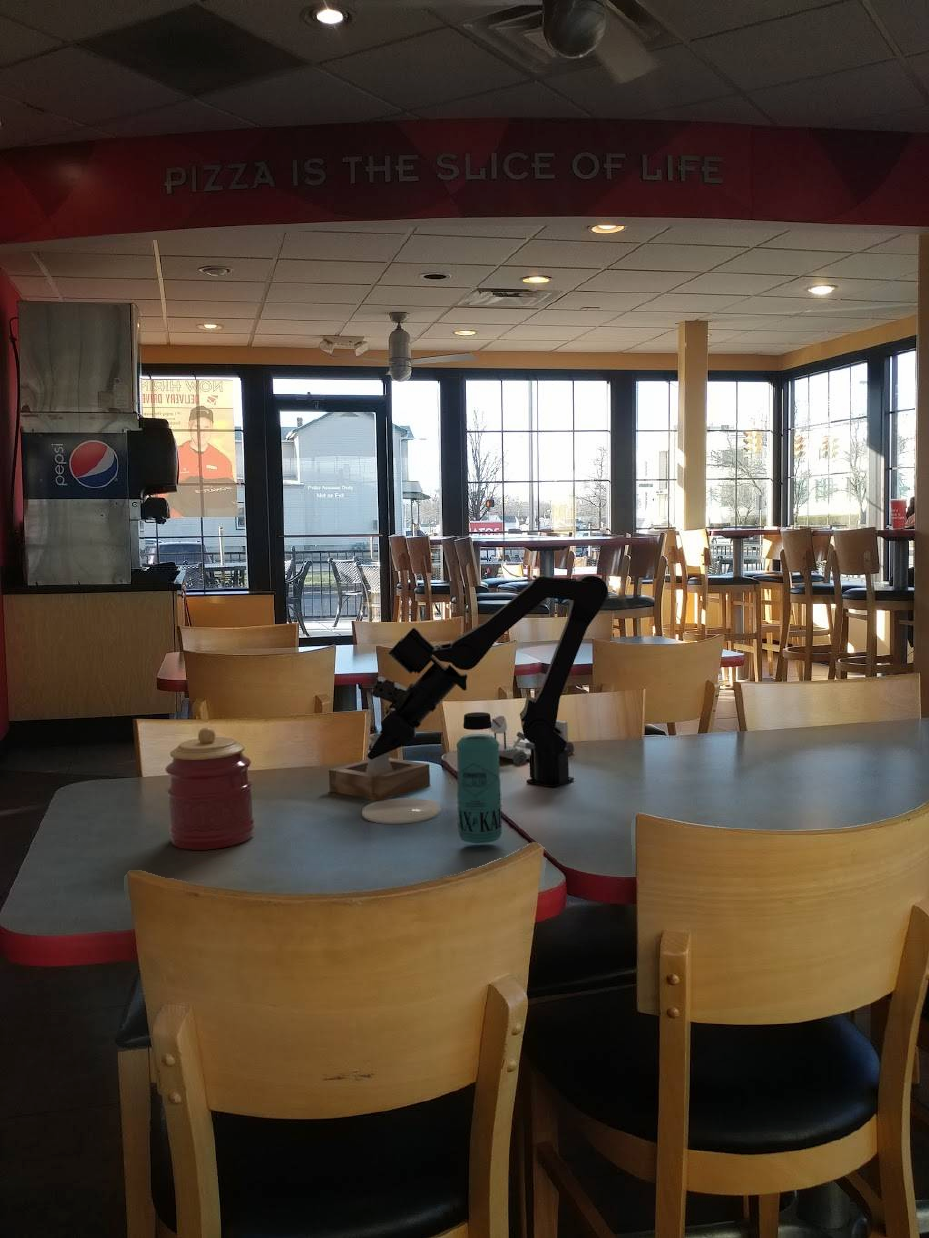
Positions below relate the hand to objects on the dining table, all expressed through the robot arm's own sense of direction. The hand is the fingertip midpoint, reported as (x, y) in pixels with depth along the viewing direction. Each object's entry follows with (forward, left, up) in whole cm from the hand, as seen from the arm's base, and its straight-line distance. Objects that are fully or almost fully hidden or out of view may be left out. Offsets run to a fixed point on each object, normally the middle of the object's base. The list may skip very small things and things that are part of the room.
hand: (371, 753), depth 190 cm
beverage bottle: (-39, +16, -7) cm, 43 cm away
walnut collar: (-1, -1, -7) cm, 7 cm away
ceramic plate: (-16, +9, -7) cm, 20 cm away
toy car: (-7, -36, -7) cm, 38 cm away
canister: (-1, +36, -7) cm, 37 cm away
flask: (-1, -1, -7) cm, 7 cm away
